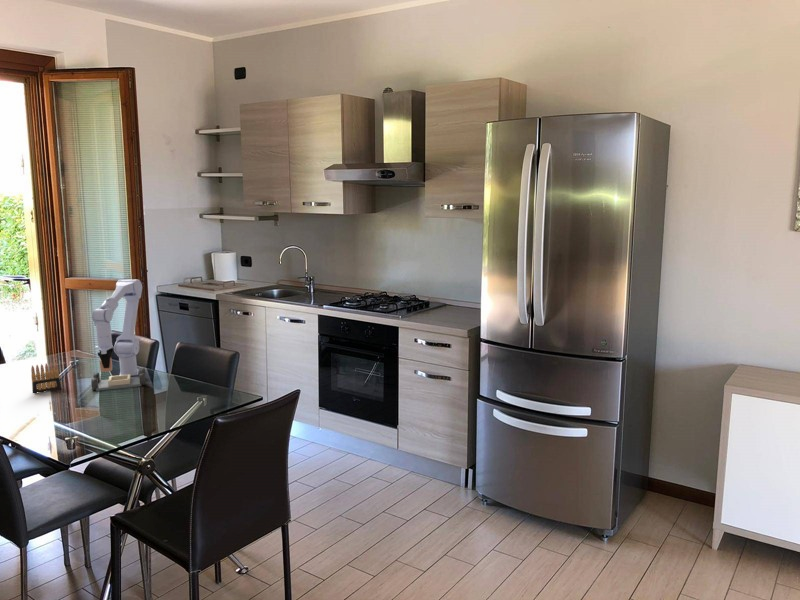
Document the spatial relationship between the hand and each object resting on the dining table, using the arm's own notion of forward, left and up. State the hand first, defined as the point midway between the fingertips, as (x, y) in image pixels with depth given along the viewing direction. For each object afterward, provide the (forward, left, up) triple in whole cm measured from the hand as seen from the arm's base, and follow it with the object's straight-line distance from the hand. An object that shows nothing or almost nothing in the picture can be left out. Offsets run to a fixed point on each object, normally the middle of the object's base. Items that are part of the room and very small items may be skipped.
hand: (107, 366), depth 290 cm
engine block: (0, 0, -2) cm, 2 cm away
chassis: (+1, +5, -8) cm, 10 cm away
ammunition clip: (-1, -24, -9) cm, 26 cm away
